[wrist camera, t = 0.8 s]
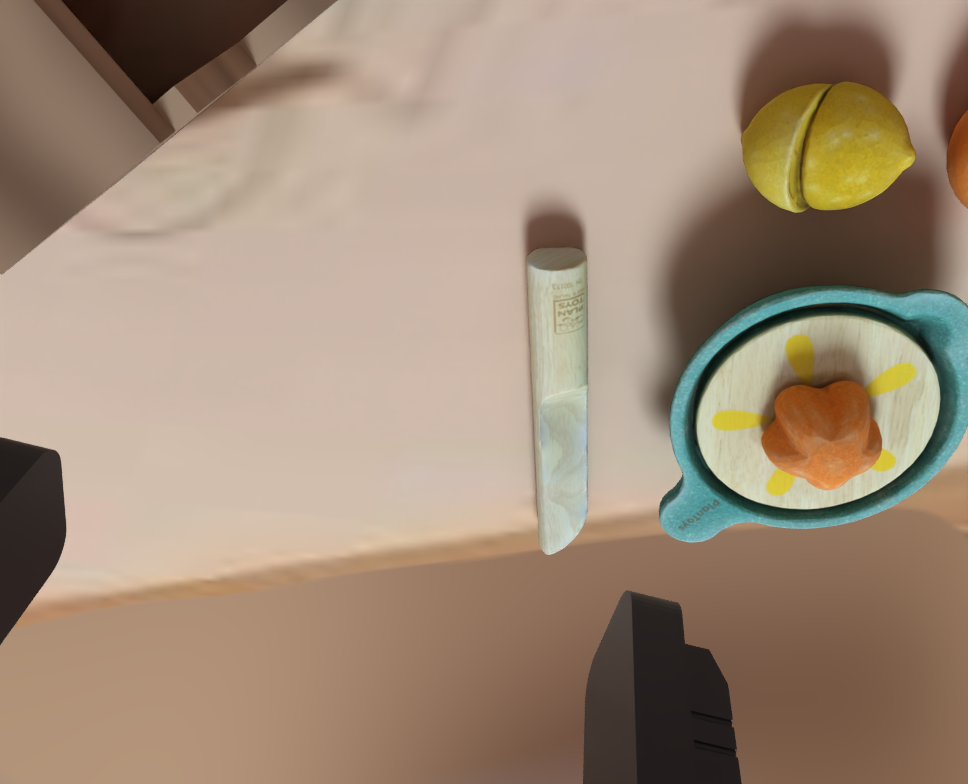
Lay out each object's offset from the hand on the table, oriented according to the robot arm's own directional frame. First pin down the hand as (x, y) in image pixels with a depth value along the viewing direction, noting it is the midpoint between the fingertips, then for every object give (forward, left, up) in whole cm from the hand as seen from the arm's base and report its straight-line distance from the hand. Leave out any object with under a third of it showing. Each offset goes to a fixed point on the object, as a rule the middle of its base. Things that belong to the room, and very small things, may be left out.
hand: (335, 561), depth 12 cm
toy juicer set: (-5, +14, -26) cm, 30 cm away
